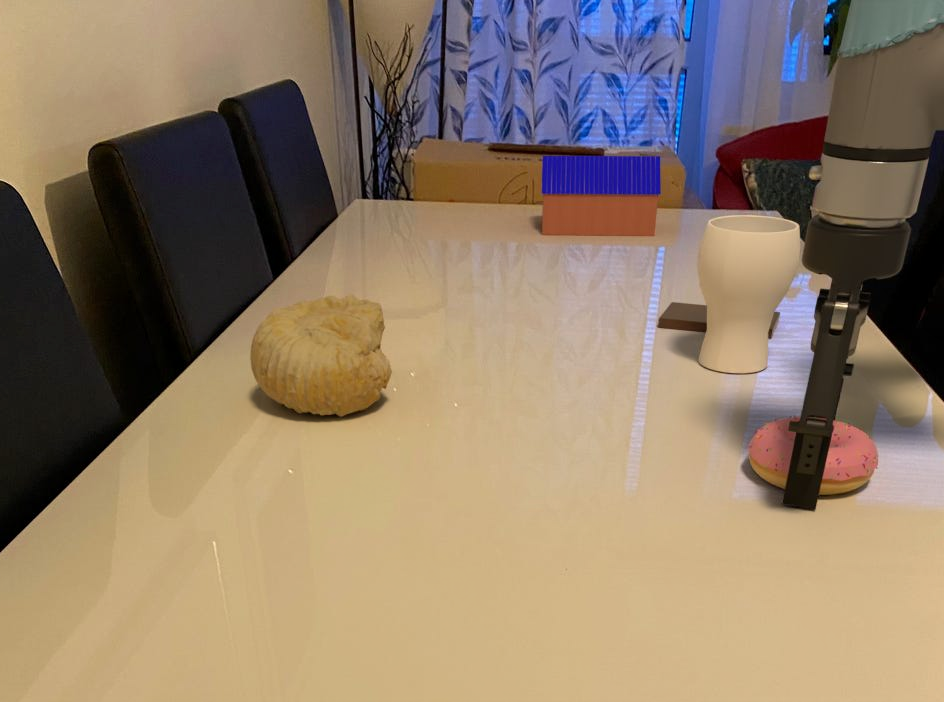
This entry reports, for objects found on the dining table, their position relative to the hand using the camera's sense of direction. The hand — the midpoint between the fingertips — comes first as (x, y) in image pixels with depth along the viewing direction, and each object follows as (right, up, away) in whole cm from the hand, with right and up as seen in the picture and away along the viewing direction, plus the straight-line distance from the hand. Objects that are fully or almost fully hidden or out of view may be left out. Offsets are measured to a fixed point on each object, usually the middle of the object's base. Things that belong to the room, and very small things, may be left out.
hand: (806, 473), depth 87 cm
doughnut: (0, 0, 0) cm, 0 cm away
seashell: (-44, +11, +17) cm, 49 cm away
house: (-7, +58, +88) cm, 106 cm away
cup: (+1, +17, +26) cm, 31 cm away
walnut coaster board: (+2, +26, +39) cm, 46 cm away
